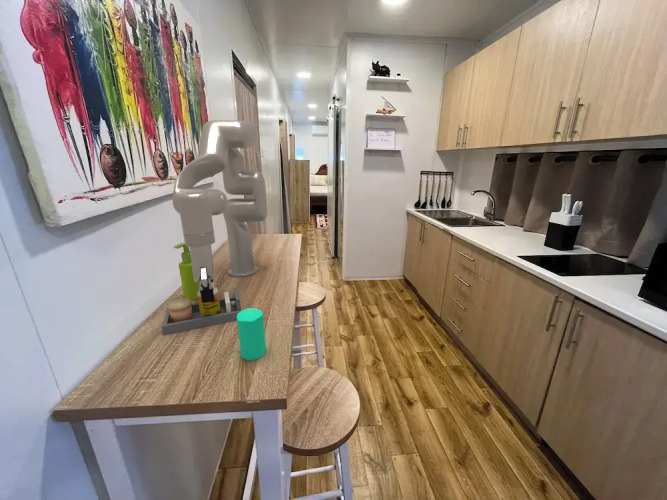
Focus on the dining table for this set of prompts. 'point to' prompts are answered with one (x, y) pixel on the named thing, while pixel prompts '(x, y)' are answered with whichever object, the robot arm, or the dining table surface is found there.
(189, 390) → the dining table surface
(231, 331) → the dining table surface
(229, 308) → the pusher paddle
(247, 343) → the candle
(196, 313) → the pusher lane
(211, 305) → the supplement bottle
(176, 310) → the beige round container
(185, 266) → the soap dispenser
